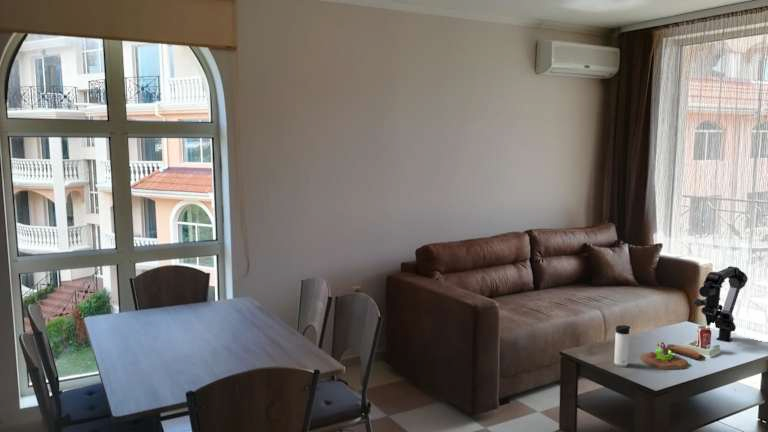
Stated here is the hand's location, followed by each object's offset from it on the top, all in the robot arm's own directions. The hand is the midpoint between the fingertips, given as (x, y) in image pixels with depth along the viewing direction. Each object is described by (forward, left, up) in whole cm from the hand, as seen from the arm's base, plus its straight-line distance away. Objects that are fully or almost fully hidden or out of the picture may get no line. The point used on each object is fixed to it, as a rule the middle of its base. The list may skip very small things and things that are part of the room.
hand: (710, 324), depth 315 cm
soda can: (+12, +2, -11) cm, 17 cm away
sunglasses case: (+23, -3, -13) cm, 26 cm away
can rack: (+13, +1, -12) cm, 17 cm away
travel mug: (+63, -17, -12) cm, 66 cm away
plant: (+44, -5, -13) cm, 46 cm away
